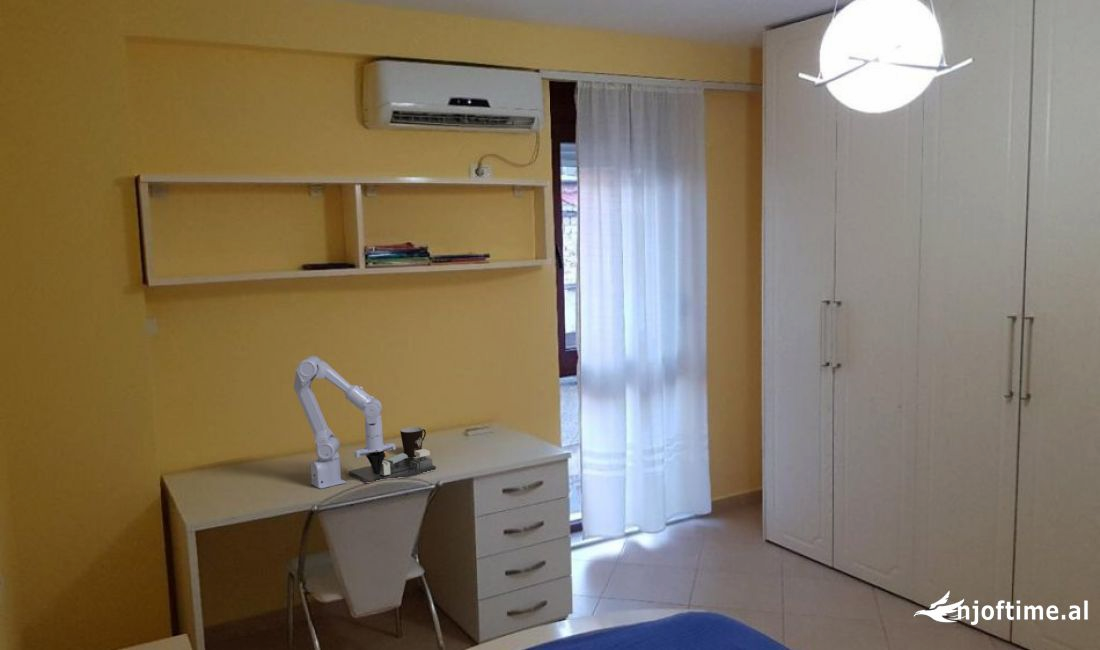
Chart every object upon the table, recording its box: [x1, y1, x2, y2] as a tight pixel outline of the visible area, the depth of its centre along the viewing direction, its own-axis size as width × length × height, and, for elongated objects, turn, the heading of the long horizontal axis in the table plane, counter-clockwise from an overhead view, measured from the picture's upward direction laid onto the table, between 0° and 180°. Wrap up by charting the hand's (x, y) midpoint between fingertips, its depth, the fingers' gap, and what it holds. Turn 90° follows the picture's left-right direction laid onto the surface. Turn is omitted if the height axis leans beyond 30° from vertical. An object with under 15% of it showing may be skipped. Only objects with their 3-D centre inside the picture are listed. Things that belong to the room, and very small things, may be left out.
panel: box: [348, 456, 437, 483], centre depth 294 cm, size 25×18×4 cm
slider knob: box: [380, 461, 391, 475], centre depth 287 cm, size 2×4×4 cm, turn 38°
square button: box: [414, 448, 431, 460], centre depth 296 cm, size 4×4×4 cm
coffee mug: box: [399, 426, 427, 458], centre depth 318 cm, size 12×9×10 cm
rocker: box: [387, 452, 409, 464], centre depth 300 cm, size 6×4×1 cm, turn 128°
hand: (376, 473), depth 285 cm, fingers closed
